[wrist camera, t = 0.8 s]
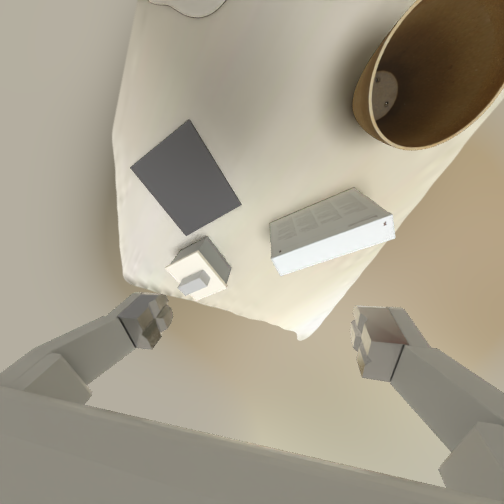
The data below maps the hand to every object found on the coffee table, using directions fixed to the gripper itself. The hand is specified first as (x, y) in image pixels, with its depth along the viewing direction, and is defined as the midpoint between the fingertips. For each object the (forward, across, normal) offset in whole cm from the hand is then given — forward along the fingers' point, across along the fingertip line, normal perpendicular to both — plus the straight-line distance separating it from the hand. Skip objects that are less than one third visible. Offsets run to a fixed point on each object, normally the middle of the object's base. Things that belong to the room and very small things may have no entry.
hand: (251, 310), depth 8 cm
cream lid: (+33, +23, +21) cm, 45 cm away
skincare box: (+42, -6, +9) cm, 44 cm away
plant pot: (+42, -16, -13) cm, 46 cm away
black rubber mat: (+38, +24, -1) cm, 45 cm away
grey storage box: (+40, +24, +20) cm, 51 cm away
